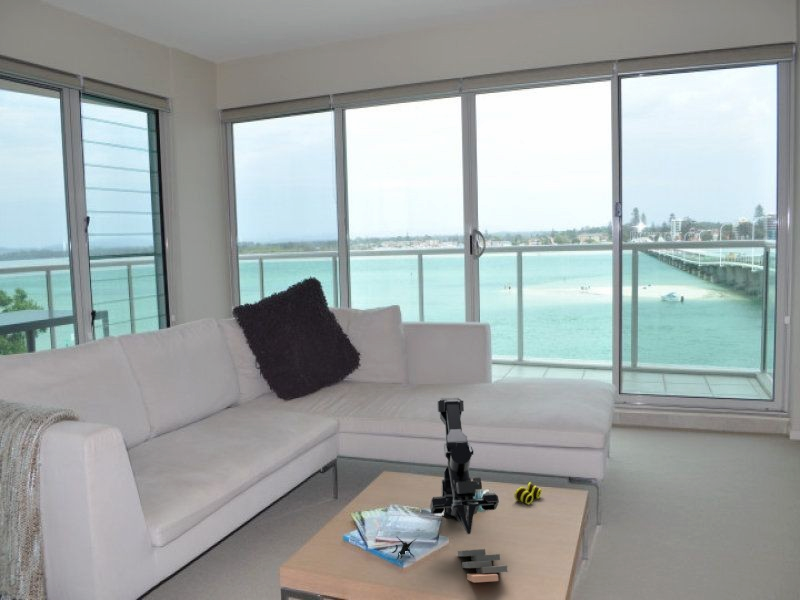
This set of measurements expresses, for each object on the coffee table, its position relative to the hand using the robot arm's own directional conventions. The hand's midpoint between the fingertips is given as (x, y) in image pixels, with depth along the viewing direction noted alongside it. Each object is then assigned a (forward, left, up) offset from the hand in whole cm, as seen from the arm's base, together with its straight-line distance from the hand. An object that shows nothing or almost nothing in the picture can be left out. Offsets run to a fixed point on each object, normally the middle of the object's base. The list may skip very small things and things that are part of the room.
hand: (469, 533), depth 178 cm
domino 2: (+4, -4, -6) cm, 8 cm away
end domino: (+8, -8, -6) cm, 13 cm away
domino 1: (-1, +1, -6) cm, 6 cm away
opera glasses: (-6, +46, -7) cm, 47 cm away
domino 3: (+4, 0, -6) cm, 7 cm away
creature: (-14, -12, -7) cm, 19 cm away
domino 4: (+8, -4, -6) cm, 11 cm away
